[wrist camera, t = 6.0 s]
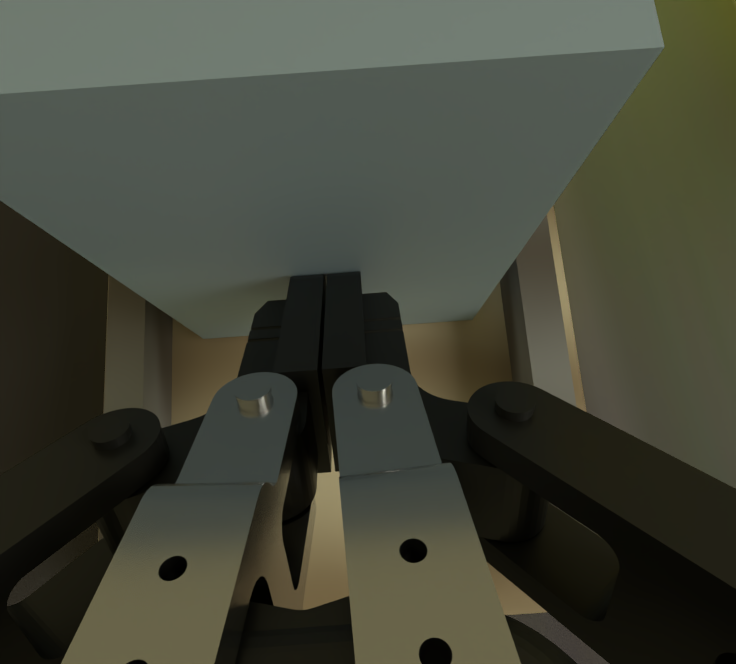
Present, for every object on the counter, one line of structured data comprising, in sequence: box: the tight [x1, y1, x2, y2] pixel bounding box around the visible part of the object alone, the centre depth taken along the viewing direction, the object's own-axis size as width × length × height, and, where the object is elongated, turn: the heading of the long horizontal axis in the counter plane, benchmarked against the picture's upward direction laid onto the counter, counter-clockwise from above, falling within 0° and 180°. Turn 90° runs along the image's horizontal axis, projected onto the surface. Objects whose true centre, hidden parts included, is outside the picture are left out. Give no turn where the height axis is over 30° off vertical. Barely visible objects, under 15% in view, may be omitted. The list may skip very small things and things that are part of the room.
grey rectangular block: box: [0, 0, 664, 339], centre depth 11 cm, size 5×8×11 cm, turn 94°
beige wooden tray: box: [98, 205, 599, 615], centre depth 17 cm, size 26×14×4 cm, turn 4°
